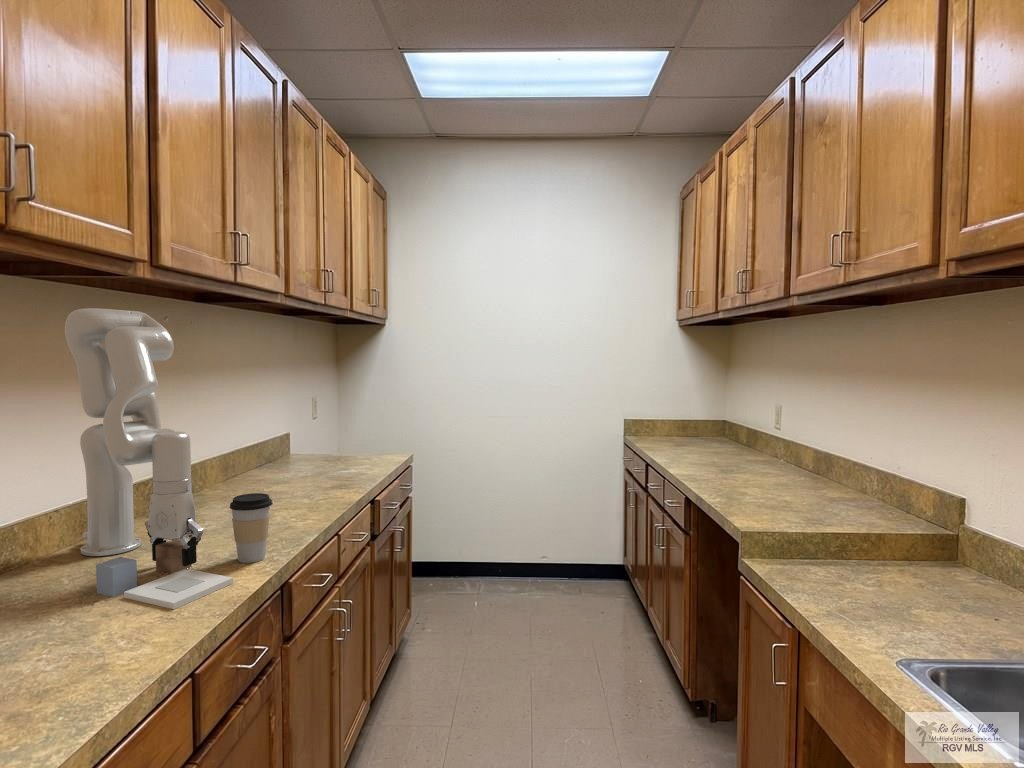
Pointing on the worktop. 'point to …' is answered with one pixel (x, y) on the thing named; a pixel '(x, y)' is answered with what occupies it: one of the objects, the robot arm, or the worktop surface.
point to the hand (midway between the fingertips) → (174, 561)
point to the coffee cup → (251, 525)
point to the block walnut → (170, 557)
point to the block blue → (116, 576)
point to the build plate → (178, 588)
